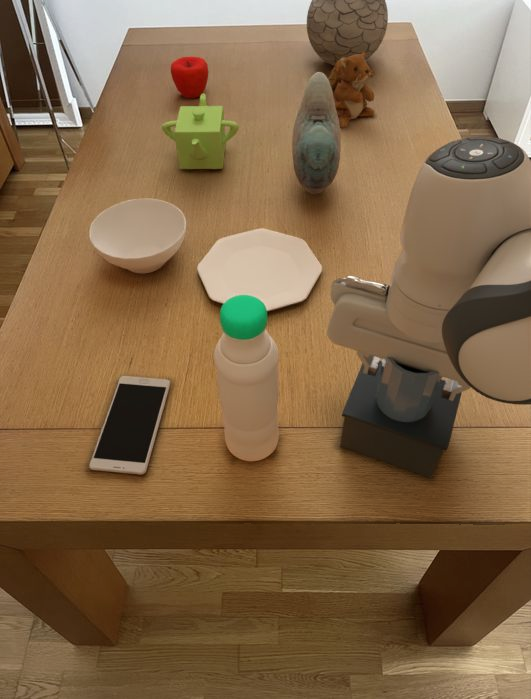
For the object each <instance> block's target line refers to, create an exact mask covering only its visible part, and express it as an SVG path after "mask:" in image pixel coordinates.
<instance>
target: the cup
mask: <svg viewBox="0 0 531 699" xmlns="http://www.w3.org/2000/svg"><path fill="white" fill-rule="evenodd" d="M442 378H443V377H442V376H439V372H437V371H431V372H425V371H422V370H419V369H415V368H412V367H409V366H405V365H402V364H399V363H396V362H395V361H394V360H393V358H391V357H387V358H386V359H382V365H381V370H380V374H379V379H378V383H377V388H376V395H375V398H376V403H377V405H378V407H379V408H380V410H381V411H382V412H383V413H384V414H385V415H386V416H388V417H389V418H391V419H394V420H396V421H400V422H414V421H418V420H420V419H422V418H423V417H425V416H426V415H427V413H428V412H429V410H430V409H431V406H432V403H433V400H434V398H435V395H436V392H437V390H438V387H439V384H440V381H441V380H443V379H442Z"/></svg>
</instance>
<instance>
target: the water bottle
mask: <svg viewBox="0 0 531 699" xmlns="http://www.w3.org/2000/svg"><path fill="white" fill-rule="evenodd" d="M219 322H220V325H221V329H222V332H223V333H222V335H221V337H220V338H219V340H218V342H217V343H216V345H215V347H214V352H213V353H214V354H213V362H214V366H215V369H216V380H217V381H216V382H217V389H218V390H217V391H218V396H219V397H218V398H219V403H220V407H221V412H222V414H221V418H222V425H223V428H224V429H223V430H224V433H223V434H224V441H225V445H226V447H227V449H228V451H229V453H231V454H232V455H233V456H234V457H235V458H237V459H239V460H241V461H245V462H257V461H258V462H259V461H261V460H264V459H266V458H268V457H269V456H271V454H273V452H274V451H276V448H277V446H278V443H279V438H280V432H279V416H280V415H279V408H278V405H279V404H278V403H279V393H280V392H279V388H280V386H279V384H280V382H279V368H278V364H279V360H280V359H279V358H280V354H279V349H278V346H277V343H276V342H275V340H274V338H273V337H272V336H271V335H270V334H269V332H268V330H266V328H267V324H268V312H267V309H266V307H265V305H264V303H263V302H261V300H259V299H258V298H255V297H254V296H251V295H250V296H249V295H239V296H237V295H236V296H235V297H232V298H230V299H229V300H227V301H226V302H225V303H224V304H221V307H220V310H219Z"/></svg>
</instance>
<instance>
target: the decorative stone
mask: <svg viewBox="0 0 531 699" xmlns="http://www.w3.org/2000/svg"><path fill="white" fill-rule="evenodd" d="M291 140H292V141H291V148H292V149H291V152H292V153H291V154H292V164H293V169H294V173H295V176H296V178H297V180H298V183H299V184H300V185H301V187H302V188H303V189H304V190H305V191H306V192H307V193H309V194H310V195H318V194H321V193H322V192H324V191H325V190H326V189H327V188H328V187H329V186H330V185H331V184H332V183H333V181H334V180H335V178H336V176H337V174H338V170H339V167H340V162H341V149H342V148H341V145H342V134H341V127H340V124H339V119H338V115H337V111H336V108H335V102H334V98H333V92H332V88H331V85H330V82H329V78H328V77H327V75H326V74H325V73H323V71H316V72H315V73H314V74H313V75H312V76H311V77H310V78H309V80H308V82H307V84H306V86H305V90H304V93H303V97H302V100H301V102H300V107H299V109H298V111H297V114H296V117H295V120H294V124H293V128H292V139H291Z"/></svg>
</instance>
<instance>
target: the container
mask: <svg viewBox="0 0 531 699" xmlns="http://www.w3.org/2000/svg"><path fill="white" fill-rule="evenodd" d="M382 361H383V360H382ZM382 361H381V360H380V363H379V368H378V371H377V373H376V376H372V375H368V374H364V373H363V372H364V366H365V365H363V363H362V362H361V365H360V368H359V371H358V373H357V376H356V378H355V381H354V383H353V386H352V388H351V390H350V392H349V395H348V398H347V400H346V403H345V406H344V408H343V410H342V413H341V417H344V420H343V425H342V431H341V436H340V444H339V446H340V447H341V448H344V449H347V450H350V451H353V452H355V453H358V454H360V455H364V456H367V457H369V458H371V459H375V460H378V461H380V462H384V463H387V464H389V465H392V466H395V467H398V468H401V469H403V470H406V471H409V472H412V473H415V474H417V475H421V476H424V477H426V478H429V479H432V477H433V475H434V473H435V470H436V468H437V466H438V464H439V461H440V459H441V458H442V454H443V452H447V451H448V449H449V445H450V441H451V437H452V434H453V428H454V425H455V421H456V417H457V414H458V409H459V407H460V406H459V405H460V401H461V398H462V393H463V392H461V393H458V394H456V395H455V398H454V400H453V401H451V400H448V399H445V398H442V397H440V396H441V393H442V389H443V386H444V384H445V381H446V380H444V379H441V381H440V384H439V387H438V390H437V392H436V395H435V398H434V400H433V403H432V406H431V409H430V410H429V412H428V413H427V415H426V416H425V417H423V418H422V419H420V420H418V421H414V422H400V421H396V420H394V419H391V418H389V417H388V416H386V415H385V414H384V413H383V412H382V411H381V410H380V408H379V407H378V405H377V403H376V398H375V395H376V388H377V383H378V379H379V374H380V370H381V365H382Z"/></svg>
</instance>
